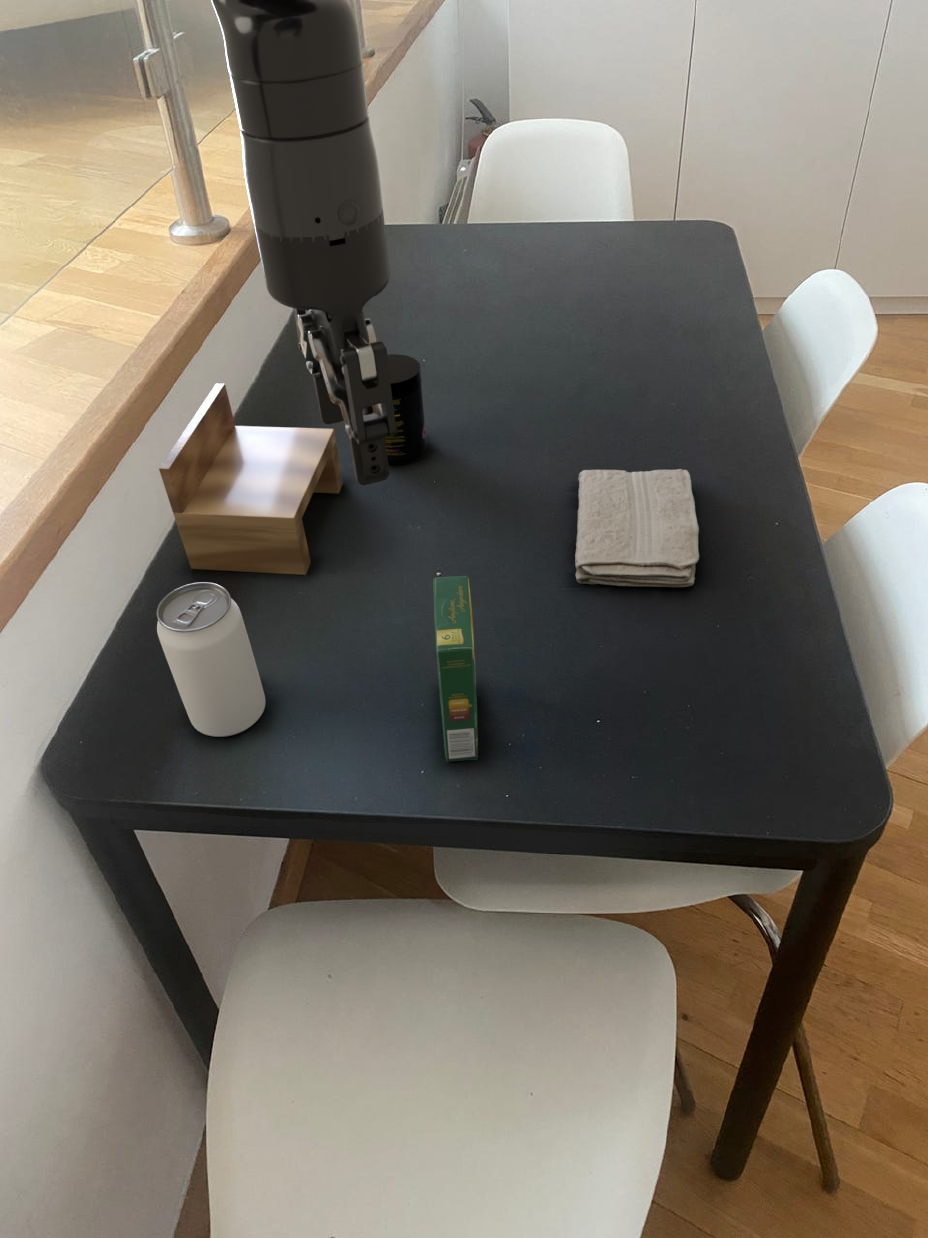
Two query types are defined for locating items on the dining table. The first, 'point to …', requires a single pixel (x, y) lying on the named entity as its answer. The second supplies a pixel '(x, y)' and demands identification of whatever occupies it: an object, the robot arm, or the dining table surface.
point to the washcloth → (636, 528)
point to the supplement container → (405, 410)
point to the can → (210, 659)
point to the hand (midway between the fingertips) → (354, 448)
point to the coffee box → (456, 667)
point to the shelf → (246, 489)
